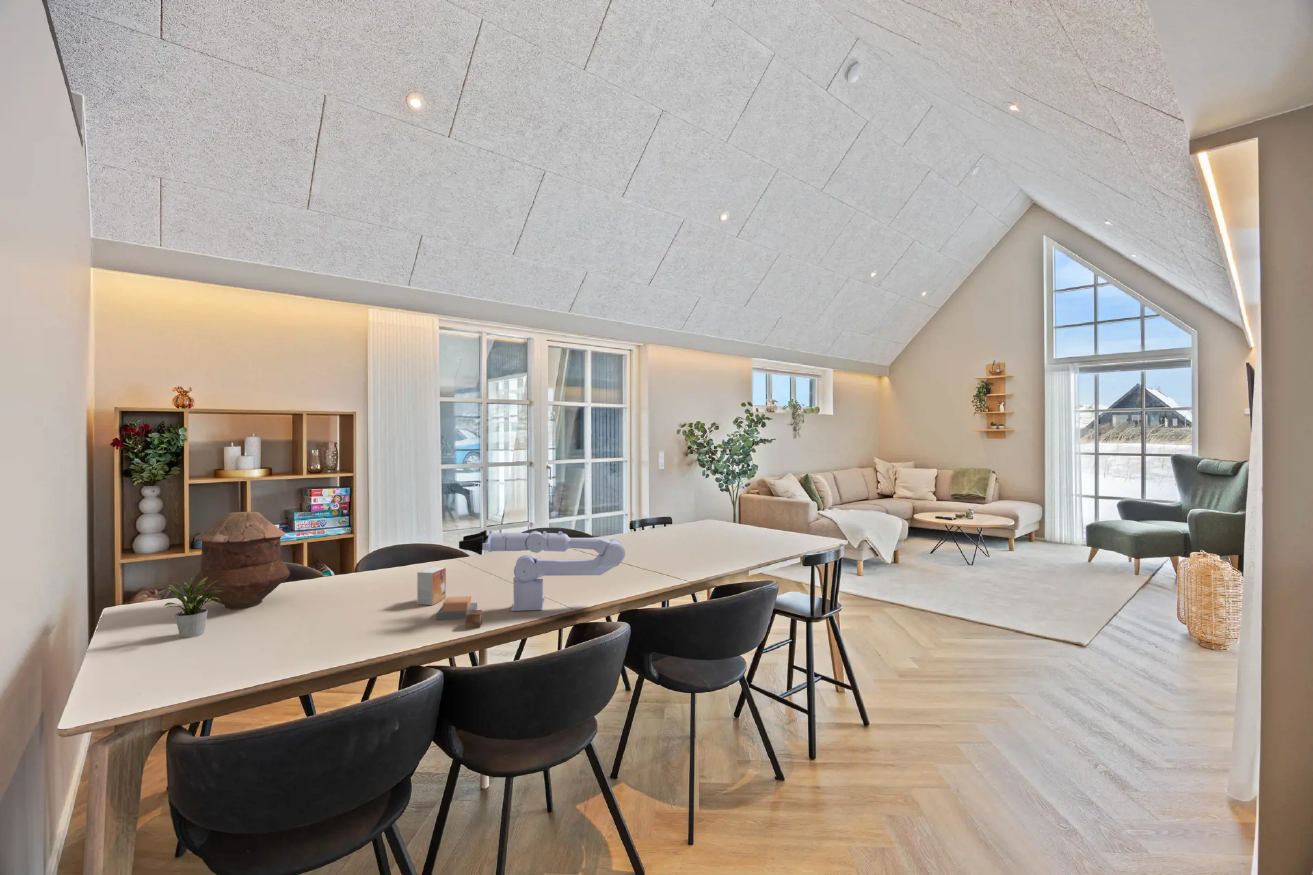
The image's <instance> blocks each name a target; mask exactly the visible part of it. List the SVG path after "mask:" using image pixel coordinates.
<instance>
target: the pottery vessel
mask: <svg viewBox="0 0 1313 875" xmlns="http://www.w3.org/2000/svg"><path fill="white" fill-rule="evenodd" d="M285 535H286V532H285V531H283V530H282V529H281V528H279V527H277V525H275V524H273V523H272V522H271V521H269V519H267V518H265V517H264V515H263V514H261V513H260V512H258V511H237V512H235V511H234V512H229V513H226V514H225V515H224V516H222V517H221V518H219V519H218V520H216V521H215V522H214V523H213V524H211V526H209V527H208V528H207V529H205V530H204V531H203V532H200V533H198V534H196V535H195V536H194V540H196V541H197V542H201V548H200V549H201V555H200V556H201V558H200V570H199V571H198V573H197V574H196V575H195V577H194V578H193V579H192V584H193V585H192V593H193V592H194V589H195V588H196V586H197V585H198V583H199V582H200V581H201V580H203V579H204V578H205V577H208V578H207V579H206V581H205V585H204V586H203V587H204V588H207V587H208V585H210V584H211V585H210V586H209V587H208V588H207V589H206V590H205V589H204V588H202V591H201V593H200V595H201V594H204V593H209V592H212V591H221V592H217V593H215V594H213V595H210V596H209V597H208V598H212V597H217V598H219V600H218V599H213V598H212V599H209V600H214V602H215V603H218V604H221V605H223V606H224V608H225V609H226V610H239V609H241V610H242V609H247V608H250V607H251V608H252V607H255V606H258V605H260V604H262V603H263V600H264V599H265V598H266V597H267V596H268V595H269V594H271V593H272V592H273V591H274V590H275V589H276V588H277V587H279V586H280V585H281V584H282V583H283V582H285V581H286V580H287V579H288V578H289V577H290V575H291V572H290V570H289V568H288V566H287V565H286V563H285V561H283V560H282V558H281V556H282V553H281V552H282V551H281V537H284V536H285ZM217 580H218V581H217ZM215 581H216V582H215ZM213 582H214V583H213ZM212 583H213V584H212ZM205 586H206V587H205ZM204 590H205V591H204ZM203 591H204V592H203ZM202 596H203V595H202ZM202 596H201V597H202ZM208 598H207V599H208ZM207 599H206V600H207Z"/></svg>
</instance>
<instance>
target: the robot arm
mask: <svg viewBox="0 0 1313 875" xmlns="http://www.w3.org/2000/svg"><path fill="white" fill-rule="evenodd" d="M557 532H558V533H554V532H550V533H549V532H547V531H545V530H544V531H542V533H541V532H540V531H537V530H533V531H530V532H493V528H490V529H489V533H488V534H487V529H485V530H483V531H481V532H476V533H473V534H468V535H465V536H463V537H462V540H460V541H458V549H460V550H463V551H467V552H468V551H469V552H473V553H476V554H477V555H479V556H482V555H483V551H488V553H492V552H521V551H530V552H531V553H536V554H538V553H540V552H542V551H544V552H557V553H558V552H562V553H566V551H568V550H569V549H577V550H580V549H581V550H593V551H594V552H597V553H598V554H597V555H596V556H595V558H594V559H544V558H541V557H540V558H539V557H533V556H532V555H527V554H526V555H525V554H524V555H522V556H520V557H518V558H517V560H516V563H515V565H514V569H513V574H514V577H513V603H512V606H511V608H510V611H511V612H519V611H541V610H543V609H544V603H545V596H544V578H542V577H545V576H547V577H548V576H549V577H550V576H551V577H552V576H554V577H555V576H560V577H561V576H563V577H564V576H567V577H568V576H601V575H604V574H606V573H607V572H609V571H610V570H612V569H614V568H616V567H618V566H619V565H620V564H621V563H622V562H623V560H624V559H625V557H626V552H625V548H624V547H623V545H622V543H621V542H620V541H619V540H618V539H616V538H612V539H611V538H606V537H569V536H568V534H567V533H563V531H557Z"/></svg>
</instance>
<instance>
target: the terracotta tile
mask: <svg viewBox="0 0 1313 875" xmlns="http://www.w3.org/2000/svg"><path fill="white" fill-rule="evenodd" d="M471 603H472V595H471V596H468V595H467V596H448V597H447V596H446V599H444V600H443V602H442V606H443V612H455V611H467V610H468V608H469V607H470V605H471Z"/></svg>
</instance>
